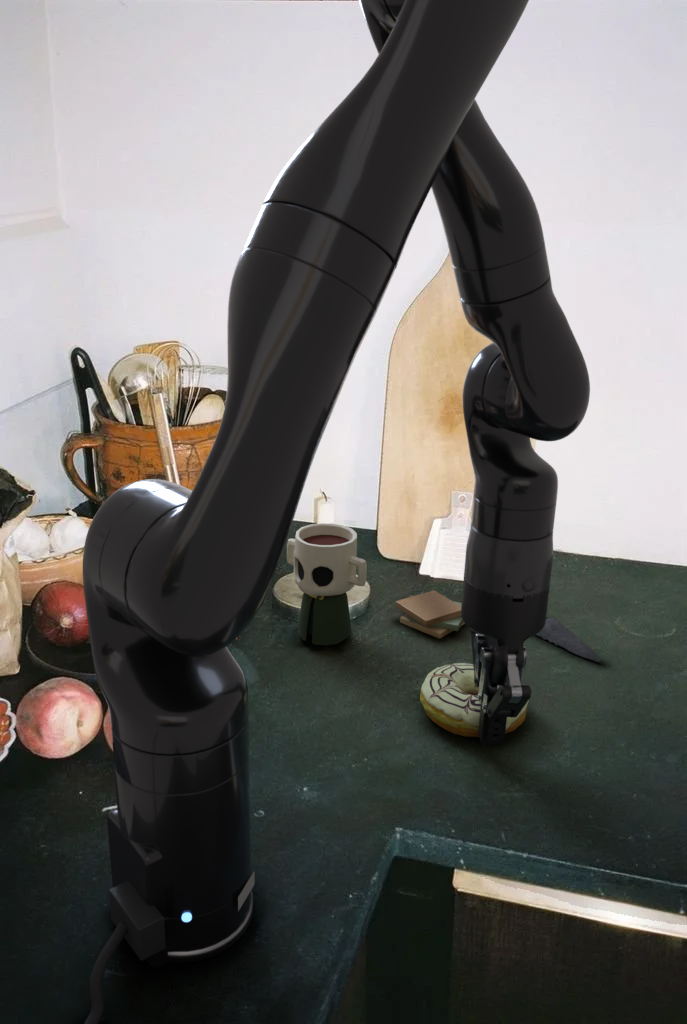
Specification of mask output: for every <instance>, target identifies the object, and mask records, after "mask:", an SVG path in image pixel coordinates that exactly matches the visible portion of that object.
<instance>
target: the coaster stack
mask: <svg viewBox="0 0 687 1024" xmlns="http://www.w3.org/2000/svg"><path fill="white" fill-rule="evenodd" d="M461 606H462V602H458V601H454V600H451V599H450V598H448V597H447V596H445V595H443V594H442V593H440V592H438V591H437V590H435V589H433V590H430V591H427V592H422V593H419V594H416V595H413V596H409V597H406V598H403V599H398V600H395V608H396V609H398V610H400V611H401V612H403V613H404V614H403V615H401V616H400V617H399V623H400V624H402V625H405V626H408V627H410V628H412V629H415V630H417V631H419V632H422V633H424V634H427V635H429V636H432V637H434V638H437V639H439V640H440V639H442V638H444V637H445V636H447V635H449V634H450V633H451V634H452V632H454V631H455V632H459V630H460V628H461V627H462V626H464V625H466V624H465V623H464V621H463V619H462V617H461Z"/></svg>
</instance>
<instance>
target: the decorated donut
mask: <svg viewBox="0 0 687 1024" xmlns="http://www.w3.org/2000/svg"><path fill="white" fill-rule="evenodd" d="M420 688H421V690H420V694H419V695H420V696H419V700H420V703H421V705H422V706H423V710H424V712H425V714H426V715H427V716H428V717H429V719H430V720H431V721H432V722H433V723H435V724H436V725H437V726H438V727H440V728H442V729H443V730H445V731H448V732H449V733H452V734H453V735H457V736H462V737H467V738H468V737H470V738H472V737H476V738H479V736H478V727H479V716H480V705H481V704H483V703H479V700H478V693H479V687H476V686H475V683H474V667H473V663H470V662H469V663H468V662H458V663H449V664H448V663H447V664H445V665H442V666H439V667H436V668H434V669H433V670H431V671H430V672H428V674H427V675H426V676H425V678H424V681H423V683H422V685H421V687H420ZM529 702H530V699H529V700H528V702H527V703H526V705H525V706H524V707H523V709H522V710H521V712H520V713H519V714H518V716H517V717H513V718H511V717H507V721H506V731H505V735H506V734H508V733H512V732H513V731H515V730H516V729H518V728H519V727H520V726H521V725H522V724H523V723H524V722H525V720H526V716H527V712H528V711H527V710H528V706H529V705H528V704H529Z"/></svg>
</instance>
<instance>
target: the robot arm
mask: <svg viewBox="0 0 687 1024" xmlns="http://www.w3.org/2000/svg"><path fill="white" fill-rule="evenodd" d="M529 1H530V0H358V2H359V6H360V8H361V12H362V15H363V18H364V21H365V23H366V26H367V30H368V31H369V34H370V37H371V39H372V42H373V44H374V46H375V49H376V52H377V56H376V58H375V59H374V62H373V63H372V65H371V66H370V67H369V68H368V70H367V71H366V72H365V74H364V75H363V77H362V78H361V79H360V80H359V82H358V83H356V85H355V86H354V88H352V89H351V90H350V92H349V93H348V94H347V95H346V97H345V98H344V99H342V101H341V102H340V103H339V104H337V106H336V107H335V108H334V109H333V110H332V112H331V113H329V115H328V116H327V117H326V118H325V119H324V120H323V122H321V123H320V125H319V126H318V127H317V128H316V129H315V130H314V131H313V132H312V133H311V134H310V135H309V136H308V138H307V139H306V140H305V141H304V142H303V143H302V144H301V145H300V146H299V148H298V149H297V150H296V152H294V154H293V155H292V157H290V159H289V161H288V162H287V163H286V164H285V166H284V167H283V168H282V169H281V171H280V172H279V174H278V176H277V177H276V179H275V180H274V182H273V184H272V186H271V187H270V190H269V191H268V193H267V195H266V197H265V198H264V200H263V203H262V206H261V208H260V210H259V213H258V215H257V216H256V219H255V221H254V224H253V226H252V228H251V230H250V232H249V234H248V237H247V239H246V242H245V244H244V246H243V247H242V251H241V252H240V255H239V257H238V259H237V263H236V265H235V268H234V270H233V273H232V278H231V282H230V285H229V286H230V287H229V293H228V300H227V301H228V302H227V321H226V324H227V325H226V328H227V329H226V336H227V337H226V339H227V341H226V342H227V343H226V344H227V345H226V347H227V380H226V382H227V383H226V384H227V386H226V395H225V403H224V410H223V413H222V417H221V422H220V425H219V427H218V430H217V433H216V436H215V439H214V441H213V444H212V447H211V448H210V451H209V453H208V455H207V458H206V460H205V462H204V465H203V467H202V469H201V471H200V473H199V477H198V478H197V480H196V483H195V485H194V487H193V489H190V488H188V487H186V486H184V485H181V484H180V483H179V484H178V483H176V482H173V481H169V480H165V479H159V478H147V479H140V480H137V481H134V482H130V483H128V484H126V485H124V486H122V487H119V488H118V489H117V490H116V491H114V492H113V493H112V494H111V495H109V496H108V497H107V499H105V500H104V502H103V503H102V504H101V505H100V507H99V508H98V510H97V511H96V513H95V514H94V516H93V518H92V520H91V522H90V524H89V527H88V530H87V533H86V536H85V540H84V544H83V553H82V583H83V594H84V602H85V611H86V618H87V626H88V633H89V642H90V649H91V657H92V664H93V669H94V674H95V677H96V681H97V684H98V686H99V689H100V690H101V693H102V694H103V697H104V698H105V701H106V704H107V707H108V712H109V721H110V730H111V743H112V757H113V770H114V772H113V773H114V782H115V784H114V785H115V798H116V808H114V809H111V810H109V811H108V812H107V814H106V826H107V839H108V849H109V861H110V872H111V873H110V874H111V885H112V887H111V888H109V889H108V896H109V905H110V906H109V909H110V920H111V921H112V923H113V924H114V925H115V929H114V931H113V932H112V934H111V935H110V937H109V938H108V940H107V941H106V943H105V945H104V946H103V947H102V949H101V951H100V953H99V954H98V957H97V959H96V961H95V962H94V965H93V968H92V972H91V975H90V979H89V994H90V1001H91V1002H90V1003H91V1008H90V1013H89V1014H88V1016H87V1018H86V1019H85V1021H84V1023H83V1024H99V1023H100V1021H101V1019H102V1017H103V1014H104V1010H105V999H104V992H103V978H104V976H105V972H106V970H107V968H108V966H109V963H110V961H111V959H112V957H113V955H114V954H115V952H116V951H117V949H118V948H119V947H120V944H121V943H122V941H123V940H124V939H125V940H126V942H127V944H128V945H129V946H130V948H131V949H132V951H133V952H134V953H135V954H136V956H137V957H138V959H139V960H140V961H144V960H145V961H146V962H147V963H148V965H149V966H150V968H152V969H157V968H159V967H161V966H163V965H165V964H167V963H176V964H177V963H179V964H180V963H181V964H182V963H183V964H185V963H193V962H199V961H203V960H207V959H210V958H213V957H216V956H217V955H219V954H221V953H223V952H225V951H227V950H228V949H230V948H231V947H232V946H233V945H235V944H236V943H237V942H238V941H239V940H240V939H241V938H242V937H243V935H244V934H245V933H246V931H247V929H248V928H249V926H250V924H251V921H252V918H253V912H254V898H253V896H254V895H253V888H254V886H255V883H256V882H255V881H256V880H255V875H256V874H255V871H253V872H252V853H251V850H252V849H251V847H252V846H251V792H250V791H251V789H250V785H251V783H250V722H249V721H250V720H249V719H250V717H249V716H250V715H249V688H248V681H247V677H246V675H245V672H244V669H243V668H242V666H241V665H240V663H239V662H238V661H237V659H236V658H235V656H234V655H233V653H232V652H231V650H230V649H229V647H228V646H229V645H231V644H232V643H234V642H235V641H236V640H237V639H238V638H239V637H240V636H241V635H242V634H243V632H245V630H246V629H247V628H248V627H249V626H250V625H251V624H252V622H253V620H254V618H255V617H256V615H257V614H258V612H259V610H260V609H261V607H262V605H263V603H264V601H265V599H266V597H267V595H268V593H269V591H270V588H271V586H272V584H273V581H274V578H275V576H276V573H277V570H278V567H279V564H280V561H281V559H282V555H283V552H284V549H285V547H286V545H287V542H288V539H289V534H290V531H291V528H292V525H293V522H294V520H295V519H294V518H295V515H296V513H297V509H298V507H299V502H300V499H301V497H302V494H303V491H304V488H305V485H306V482H307V479H308V477H309V476H308V475H309V474H310V470H311V467H312V465H313V463H314V462H313V461H314V459H315V456H316V453H317V450H318V448H319V446H320V443H321V441H322V438H323V436H324V433H325V431H326V428H327V426H328V423H329V421H330V419H331V418H332V417H331V416H332V414H333V412H334V410H335V406H336V405H337V402H338V400H339V397H340V394H341V391H342V389H343V387H344V384H345V382H346V380H347V377H348V375H349V372H350V371H351V367H352V366H353V364H354V360H355V358H356V356H357V354H358V352H359V350H360V348H361V345H362V343H363V342H364V340H365V337H366V336H367V333H368V332H369V329H370V327H371V325H372V323H373V321H374V320H375V317H376V314H377V312H378V310H379V308H380V306H381V303H382V300H383V299H384V296H385V294H386V292H387V290H388V288H389V286H390V283H391V281H392V278H393V277H394V274H395V271H396V269H397V267H398V265H399V262H400V259H401V257H402V254H403V252H404V249H405V247H406V245H407V241H408V238H409V236H410V235H411V231H412V230H413V227H414V225H415V223H416V220H417V218H418V217H419V214H420V212H421V210H422V207H423V206H424V203H425V201H426V199H427V197H428V195H429V193H430V191H431V192H432V195H433V197H434V200H435V205H436V207H437V210H438V213H439V217H440V220H441V224H442V228H443V232H444V236H445V241H446V243H447V249H448V254H449V257H450V262H451V266H452V270H453V274H454V279H455V283H456V288H457V292H458V296H459V301H460V304H461V308H462V312H463V316H464V319H465V320H466V322H467V323H468V325H469V327H471V328H472V329H473V330H474V331H476V332H477V333H478V334H480V335H481V336H483V337H485V338H486V339H488V340H489V341H491V342H492V343H489V344H487V345H485V346H484V347H483V348H482V349H480V351H478V352H477V354H476V355H475V356H474V358H473V359H472V361H471V362H470V364H469V367H468V368H467V371H466V374H465V377H464V381H463V386H462V395H461V399H462V400H461V401H462V412H463V420H464V426H465V432H466V438H467V444H468V451H469V457H470V462H471V465H472V469H473V470H472V471H473V475H474V487H473V496H472V508H471V519H470V520H471V521H470V529H469V534H468V537H467V540H466V541H467V542H466V546H465V547H466V548H465V558H464V569H463V570H464V571H463V583H462V593H461V594H462V596H461V603H462V606H461V617H462V619H463V621H464V623H465V624H464V625H466V626H467V627H468V628H469V634H470V640H471V641H470V643H471V654H472V664H473V667H474V683H475V686H476V687H479V693H478V700H479V703H483V704H481V705H480V716H479V727H478V736H479V737H478V739H479V740H480V743H481V745H482V746H484V747H499V746H502V745H504V743H505V739H506V734H505V731H506V721H507V717H511V718H513V717H517V716H518V714H519V713H520V712H521V710H522V709H523V707H524V706H525V705H526V703H527V702H528V700H529V701H530V699H531V697H532V689H531V685H529V684H524V683H521V681H522V675H523V669H524V668H525V667H526V665H527V657H528V651H527V647H526V646H525V645H524V643H525V642H526V641H527V640H529V638H531V637H533V636H537V635H536V634H537V633H539V632H540V631H541V630H542V629H543V628H544V626H545V623H546V617H547V614H548V604H549V598H550V596H549V595H550V588H551V579H552V570H553V562H554V528H555V519H556V509H557V501H558V492H559V491H558V490H559V477H558V474H557V471H556V470H555V468H554V467H553V466H552V465H551V463H549V462H548V461H547V460H545V459H544V458H543V457H542V456H541V455H539V454H538V453H537V452H536V451H535V449H534V448H533V445H532V441H531V439H532V440H535V441H540V442H557V441H560V440H563V439H565V438H567V437H569V436H571V434H573V433H574V432H575V431H576V430H577V429H578V428H579V426H580V425H581V423H582V422H583V420H584V418H585V416H586V414H587V410H588V407H589V405H590V404H589V402H590V397H591V396H590V395H591V382H590V375H589V370H588V366H587V363H586V360H585V358H584V355H583V352H582V350H581V348H580V345H579V343H578V341H577V339H576V337H575V335H574V333H573V330H572V328H571V326H570V323H569V321H568V319H567V316H566V314H565V312H564V310H563V308H562V306H561V305H560V303H559V301H558V300H557V297H556V295H555V293H554V290H553V285H552V278H551V271H550V264H549V259H548V254H547V247H546V242H545V237H544V230H543V226H542V220H541V216H540V214H539V211H538V208H537V204H536V201H535V200H534V197H533V195H532V193H531V191H530V189H529V187H528V185H527V182H526V181H525V180H524V178H523V176H522V174H521V173H520V171H519V170H518V168H517V167H516V165H515V163H514V162H513V160H512V159H511V157H510V155H509V154H508V153H507V151H506V149H505V148H504V147H503V145H502V144H501V142H500V141H499V139H498V138H497V136H496V134H495V133H494V131H493V129H492V128H491V126H490V124H489V123H488V121H487V120H486V118H485V116H484V114H483V112H482V110H481V108H480V106H479V104H478V101H477V100H476V97H477V96H478V93H479V92H480V90H481V89H482V87H483V85H484V84H485V82H486V80H487V78H488V77H489V75H490V73H491V71H492V70H493V68H494V66H495V64H496V62H497V61H498V59H499V57H500V55H501V54H502V52H503V51H504V49H505V47H506V46H507V44H508V42H509V40H510V38H511V36H512V35H513V33H514V32H515V30H516V27H517V25H518V23H519V21H520V20H521V18H522V16H523V14H524V12H525V10H526V8H527V5H528V3H529ZM528 703H529V702H528Z"/></svg>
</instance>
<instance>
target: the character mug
mask: <svg viewBox="0 0 687 1024" xmlns="http://www.w3.org/2000/svg"><path fill="white" fill-rule="evenodd" d="M357 555H358V534H357V532H356V531H355V530H354V529H353V528H351V527H348V526H347V525H344V524H337V523H333V522H332V523H329V522H328V523H326V522H324V523H323V522H319V523H312V524H308V525H304V526H302V527H300V528H299V529H298V530H296V532H295V537H294V538H287V541H286V562H287V564H288V565H291V566H292V567H293V578H294V583H295V584H296V585H297V587H298V588H299V590H300V591H301V592H302V596H301V597H302V598H301V603H300V610H299V617H298V627H297V630H298V631H297V633H298V634H297V635H298V637H299V638H300V639H301V640H302V641H305V642H307V634H308V635H310V636H311V637H312V639H311V644H312V645H316V646H318V645H319V646H331V645H338V644H339V643H341V642H343V641H344V640H346V639H347V638H348V637H349V636H350V635H351V633H352V623H351V614H350V606H349V597H348V594H347V592H348V593H349V591H351V590H352V589H353V588H354V587H355V586H358V587H365V585H366V582H367V573H368V571H367V570H368V569H367V568H368V564H367V561H366V560H365V559H364V558H360V557H358V556H357Z"/></svg>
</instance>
